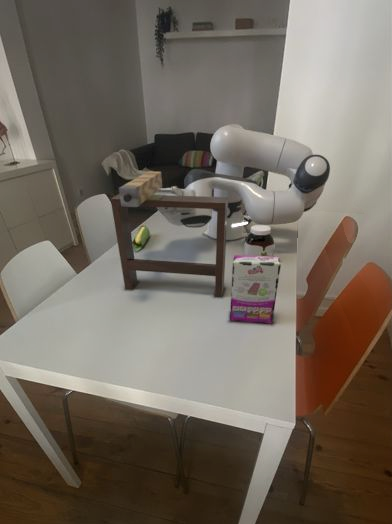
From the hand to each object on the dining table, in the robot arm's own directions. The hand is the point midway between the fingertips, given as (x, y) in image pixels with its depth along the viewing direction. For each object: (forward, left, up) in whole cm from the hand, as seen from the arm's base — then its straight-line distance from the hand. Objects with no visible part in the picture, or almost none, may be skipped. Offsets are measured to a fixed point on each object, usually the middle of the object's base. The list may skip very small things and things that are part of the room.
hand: (158, 188), depth 94 cm
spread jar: (-14, +32, -26) cm, 43 cm away
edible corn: (-23, -16, -26) cm, 38 cm away
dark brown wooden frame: (+14, +7, -25) cm, 30 cm away
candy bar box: (+27, +31, -26) cm, 48 cm away
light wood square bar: (+13, 0, +1) cm, 13 cm away
